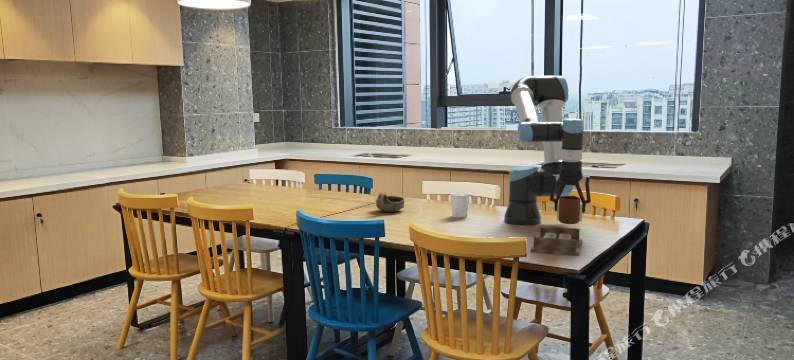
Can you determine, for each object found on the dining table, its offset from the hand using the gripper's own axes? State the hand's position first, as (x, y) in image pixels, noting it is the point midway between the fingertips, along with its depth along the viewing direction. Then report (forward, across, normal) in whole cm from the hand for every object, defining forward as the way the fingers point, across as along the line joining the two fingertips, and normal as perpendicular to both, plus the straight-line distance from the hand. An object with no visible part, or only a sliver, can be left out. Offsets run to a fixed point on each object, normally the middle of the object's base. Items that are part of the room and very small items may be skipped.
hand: (569, 219), depth 240 cm
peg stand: (+6, -3, -18) cm, 19 cm away
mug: (+1, 0, 0) cm, 1 cm away
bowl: (+8, -83, +26) cm, 87 cm away
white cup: (+8, -49, +25) cm, 55 cm away
